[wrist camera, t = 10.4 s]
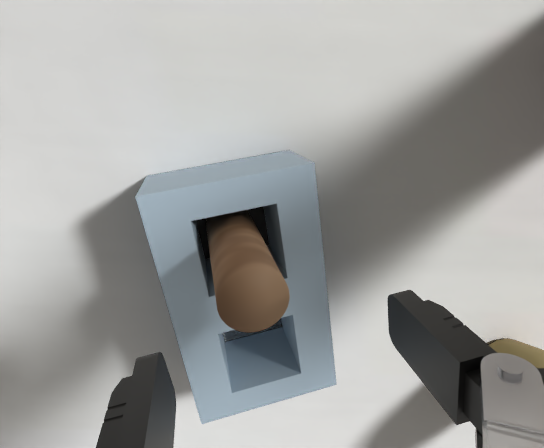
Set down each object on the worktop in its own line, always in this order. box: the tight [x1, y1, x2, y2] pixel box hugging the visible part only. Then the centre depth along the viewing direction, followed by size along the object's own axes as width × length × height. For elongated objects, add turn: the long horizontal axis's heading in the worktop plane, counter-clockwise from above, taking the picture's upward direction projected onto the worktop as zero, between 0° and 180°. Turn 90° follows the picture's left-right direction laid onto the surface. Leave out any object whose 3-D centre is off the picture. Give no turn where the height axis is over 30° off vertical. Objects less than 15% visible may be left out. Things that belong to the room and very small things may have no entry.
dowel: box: [206, 210, 290, 332], centre depth 19 cm, size 3×3×10 cm
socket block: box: [135, 150, 336, 424], centre depth 23 cm, size 9×15×5 cm, turn 8°
